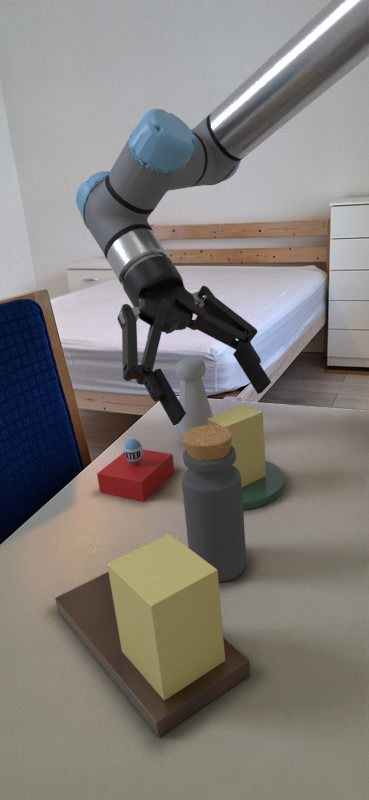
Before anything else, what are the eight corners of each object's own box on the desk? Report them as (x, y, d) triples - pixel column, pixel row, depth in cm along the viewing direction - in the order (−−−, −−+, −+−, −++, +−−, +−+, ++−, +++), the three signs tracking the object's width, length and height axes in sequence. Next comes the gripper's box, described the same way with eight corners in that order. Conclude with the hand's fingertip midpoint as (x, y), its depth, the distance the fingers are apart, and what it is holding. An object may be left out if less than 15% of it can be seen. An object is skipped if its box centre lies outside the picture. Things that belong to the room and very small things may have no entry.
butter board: (136, 570, 63) (134, 558, 62) (250, 674, 49) (249, 660, 48) (57, 610, 58) (54, 597, 57) (158, 737, 44) (156, 722, 43)
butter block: (179, 618, 53) (169, 533, 50) (225, 660, 48) (217, 569, 45) (121, 651, 50) (106, 563, 47) (164, 701, 45) (151, 606, 42)
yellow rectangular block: (247, 467, 79) (244, 404, 76) (265, 476, 76) (262, 411, 73) (212, 483, 76) (206, 418, 73) (229, 493, 73) (225, 426, 70)
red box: (143, 501, 75) (137, 457, 73) (100, 492, 79) (93, 449, 76) (174, 472, 82) (169, 430, 79) (132, 464, 85) (127, 424, 83)
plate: (242, 454, 85) (241, 448, 84) (304, 485, 75) (304, 478, 75) (173, 485, 79) (172, 478, 78) (231, 522, 69) (230, 514, 69)
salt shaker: (193, 431, 94) (185, 352, 89) (223, 438, 90) (218, 356, 86) (170, 446, 89) (161, 364, 85) (202, 454, 86) (194, 369, 81)
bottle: (181, 558, 64) (167, 431, 58) (230, 541, 66) (221, 417, 60) (205, 590, 59) (192, 454, 53) (256, 571, 61) (249, 438, 55)
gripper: (208, 274, 90) (282, 390, 84) (56, 308, 77) (130, 448, 71) (228, 239, 84) (309, 361, 78) (66, 270, 71) (149, 419, 65)
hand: (224, 403), depth 74 cm, fingers open, 13 cm apart
